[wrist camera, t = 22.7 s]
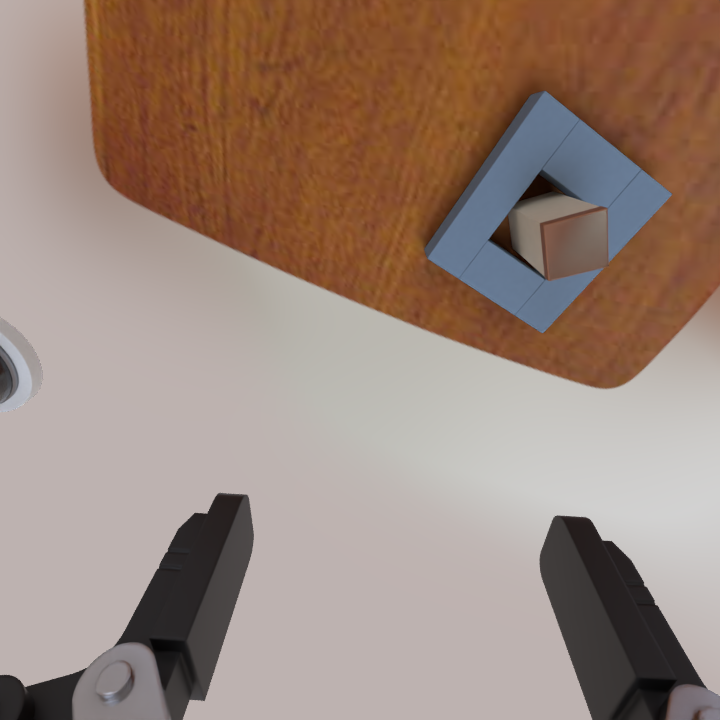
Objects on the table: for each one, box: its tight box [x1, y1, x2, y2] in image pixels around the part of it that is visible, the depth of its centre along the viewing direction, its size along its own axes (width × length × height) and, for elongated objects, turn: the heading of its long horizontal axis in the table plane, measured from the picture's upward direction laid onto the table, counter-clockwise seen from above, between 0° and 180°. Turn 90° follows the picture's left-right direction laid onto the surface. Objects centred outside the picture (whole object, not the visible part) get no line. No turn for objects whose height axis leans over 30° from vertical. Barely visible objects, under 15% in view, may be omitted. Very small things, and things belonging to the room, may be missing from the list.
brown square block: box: [508, 191, 609, 281], centre depth 30 cm, size 4×4×9 cm
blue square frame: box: [424, 91, 672, 333], centre depth 32 cm, size 13×12×3 cm
